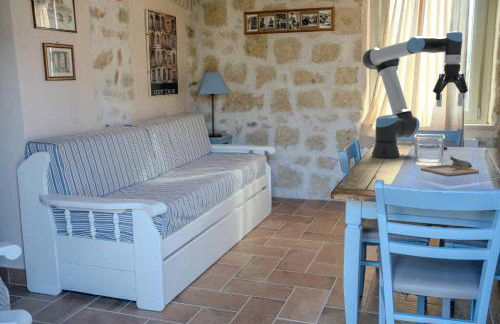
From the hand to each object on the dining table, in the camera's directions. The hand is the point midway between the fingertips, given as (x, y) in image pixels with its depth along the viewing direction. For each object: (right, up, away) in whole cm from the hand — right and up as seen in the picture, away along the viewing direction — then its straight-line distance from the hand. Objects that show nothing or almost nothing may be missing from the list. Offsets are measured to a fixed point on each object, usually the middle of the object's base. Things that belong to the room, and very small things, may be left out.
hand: (449, 106), depth 244 cm
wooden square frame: (-7, -33, -16) cm, 37 cm away
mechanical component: (-5, -26, -13) cm, 30 cm away
